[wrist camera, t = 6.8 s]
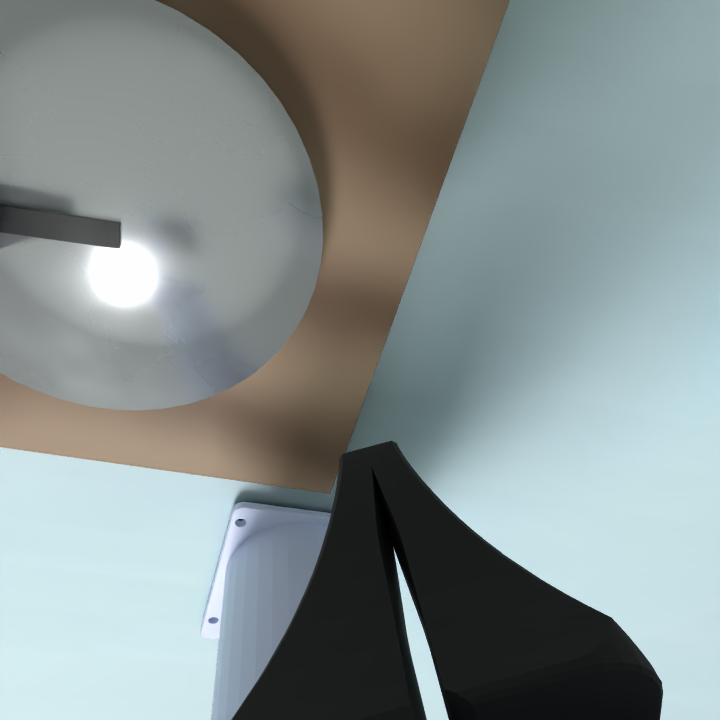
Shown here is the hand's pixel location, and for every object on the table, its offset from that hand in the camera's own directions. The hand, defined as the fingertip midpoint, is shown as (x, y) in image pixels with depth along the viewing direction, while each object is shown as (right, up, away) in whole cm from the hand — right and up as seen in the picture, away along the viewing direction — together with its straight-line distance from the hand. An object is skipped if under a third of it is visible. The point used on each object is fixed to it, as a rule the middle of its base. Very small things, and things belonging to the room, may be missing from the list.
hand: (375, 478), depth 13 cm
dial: (-8, +7, +5) cm, 12 cm away
